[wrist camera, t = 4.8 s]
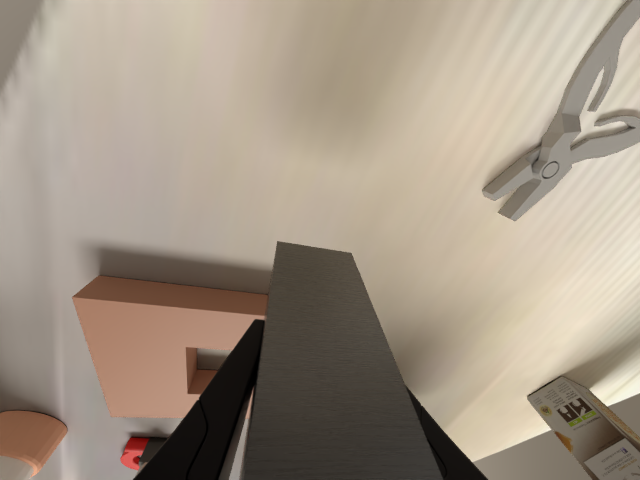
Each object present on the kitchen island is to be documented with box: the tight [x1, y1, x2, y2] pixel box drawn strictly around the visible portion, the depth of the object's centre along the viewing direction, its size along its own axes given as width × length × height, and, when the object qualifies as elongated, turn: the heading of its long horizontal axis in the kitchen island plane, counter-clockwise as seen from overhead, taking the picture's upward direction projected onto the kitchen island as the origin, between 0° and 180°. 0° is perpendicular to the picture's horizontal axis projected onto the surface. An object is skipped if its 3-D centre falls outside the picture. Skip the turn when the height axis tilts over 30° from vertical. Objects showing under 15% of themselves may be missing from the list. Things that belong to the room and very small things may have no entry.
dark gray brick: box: [239, 241, 443, 480], centre depth 8 cm, size 4×5×8 cm
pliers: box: [482, 0, 640, 221], centre depth 16 cm, size 10×2×15 cm
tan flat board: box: [72, 276, 268, 419], centre depth 23 cm, size 20×16×2 cm
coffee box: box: [527, 377, 640, 480], centre depth 28 cm, size 9×6×16 cm
